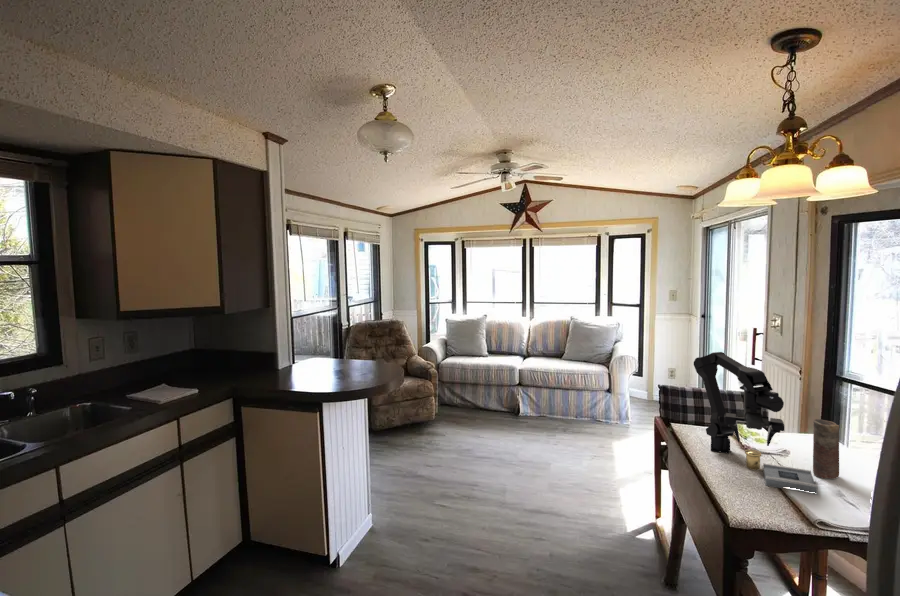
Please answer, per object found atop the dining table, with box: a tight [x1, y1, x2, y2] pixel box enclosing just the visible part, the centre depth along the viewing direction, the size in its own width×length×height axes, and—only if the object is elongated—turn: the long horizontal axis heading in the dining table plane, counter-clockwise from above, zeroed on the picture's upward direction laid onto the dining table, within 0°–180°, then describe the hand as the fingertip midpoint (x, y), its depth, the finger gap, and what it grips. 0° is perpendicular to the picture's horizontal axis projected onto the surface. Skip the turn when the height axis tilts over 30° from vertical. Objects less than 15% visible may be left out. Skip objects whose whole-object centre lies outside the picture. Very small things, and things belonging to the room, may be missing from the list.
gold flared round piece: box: [744, 449, 762, 471], centre depth 171 cm, size 5×5×6 cm
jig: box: [762, 462, 818, 493], centre depth 159 cm, size 14×12×3 cm
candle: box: [812, 418, 840, 480], centre depth 162 cm, size 8×7×20 cm
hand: (752, 443), depth 171 cm, fingers open, 9 cm apart
